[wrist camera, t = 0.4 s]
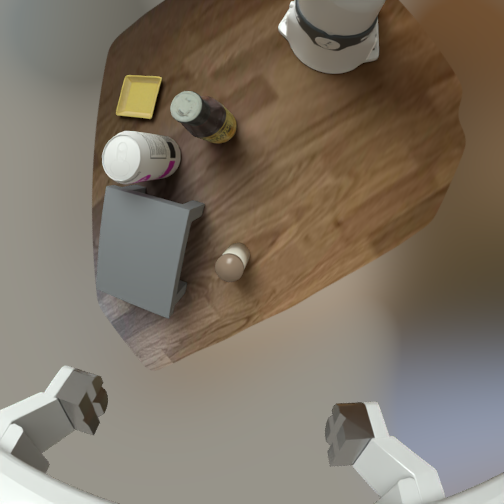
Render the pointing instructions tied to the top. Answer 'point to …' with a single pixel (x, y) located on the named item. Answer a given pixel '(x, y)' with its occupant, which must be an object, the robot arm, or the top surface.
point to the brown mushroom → (232, 262)
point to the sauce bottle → (203, 117)
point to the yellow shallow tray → (138, 96)
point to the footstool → (144, 247)
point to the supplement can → (140, 157)
